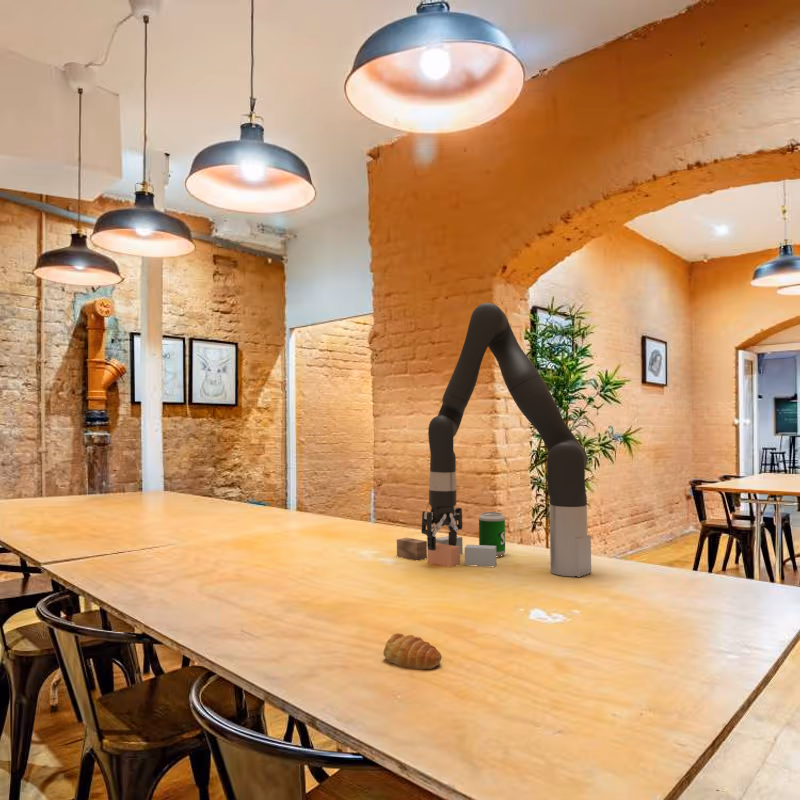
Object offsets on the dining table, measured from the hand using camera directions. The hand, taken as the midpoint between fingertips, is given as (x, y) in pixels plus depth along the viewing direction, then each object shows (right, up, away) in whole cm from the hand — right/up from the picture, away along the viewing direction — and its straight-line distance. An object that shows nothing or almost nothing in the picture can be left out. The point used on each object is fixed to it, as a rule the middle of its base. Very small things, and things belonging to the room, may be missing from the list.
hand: (442, 547), depth 172 cm
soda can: (+15, -5, +10) cm, 19 cm away
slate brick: (+2, -5, +12) cm, 13 cm away
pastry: (-10, -2, -70) cm, 71 cm away
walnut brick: (-8, -5, +8) cm, 12 cm away
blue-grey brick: (+10, -4, -2) cm, 11 cm away
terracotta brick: (0, -4, 0) cm, 4 cm away
